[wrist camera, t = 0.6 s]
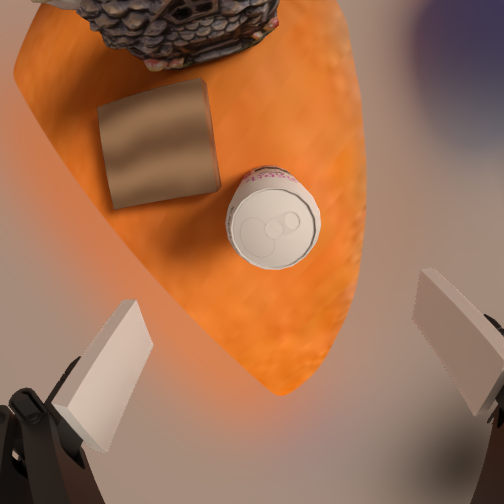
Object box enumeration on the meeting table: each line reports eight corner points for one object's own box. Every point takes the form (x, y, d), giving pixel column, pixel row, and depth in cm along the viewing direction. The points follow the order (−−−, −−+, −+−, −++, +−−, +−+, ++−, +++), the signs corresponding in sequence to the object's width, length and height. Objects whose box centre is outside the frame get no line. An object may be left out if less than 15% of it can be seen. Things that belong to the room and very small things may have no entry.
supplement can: (256, 235, 39) (254, 290, 25) (226, 182, 36) (204, 209, 22) (310, 209, 37) (338, 250, 23) (281, 153, 35) (296, 161, 21)
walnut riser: (111, 109, 32) (97, 107, 29) (206, 84, 31) (200, 77, 28) (126, 202, 37) (114, 209, 34) (221, 186, 36) (216, 191, 33)
